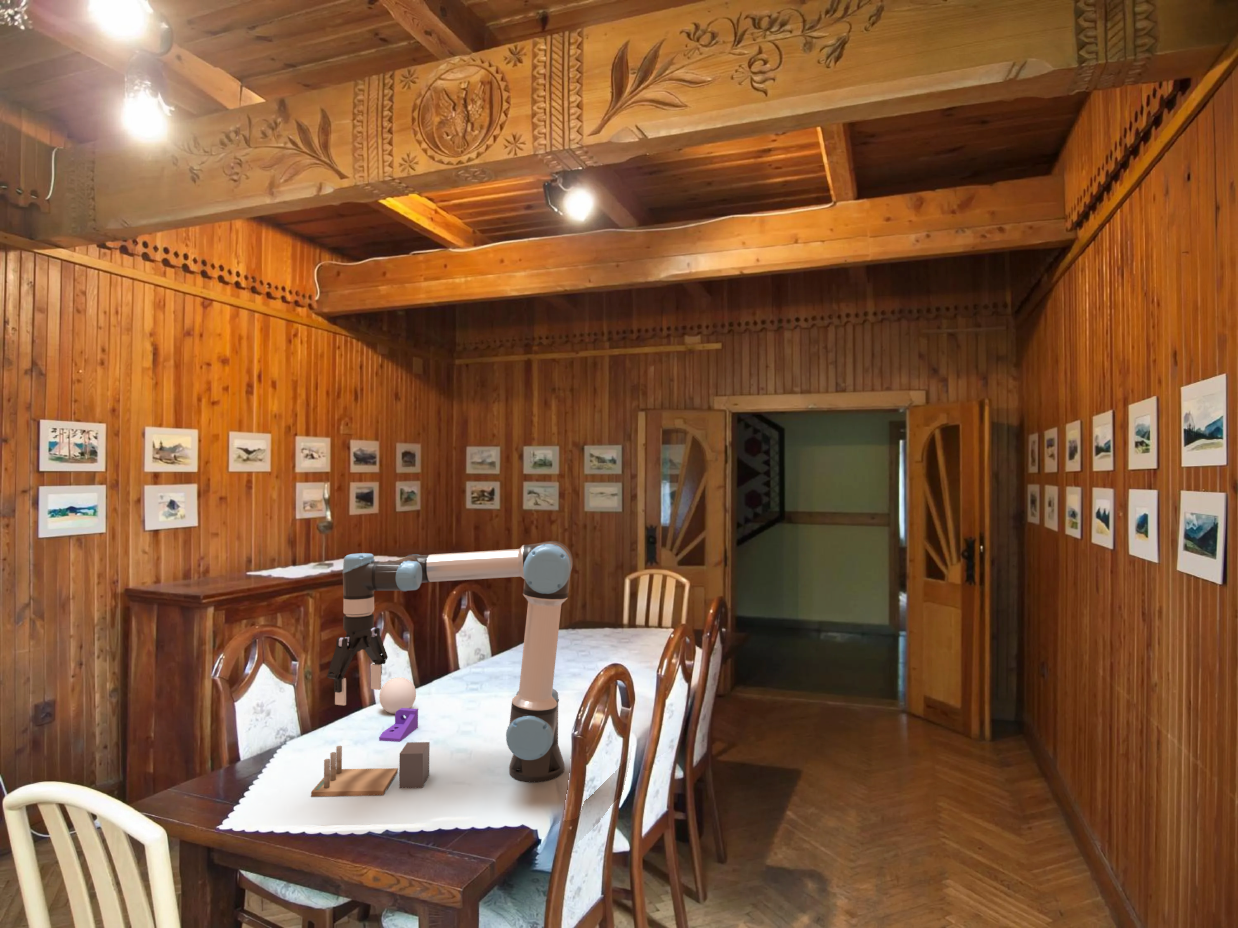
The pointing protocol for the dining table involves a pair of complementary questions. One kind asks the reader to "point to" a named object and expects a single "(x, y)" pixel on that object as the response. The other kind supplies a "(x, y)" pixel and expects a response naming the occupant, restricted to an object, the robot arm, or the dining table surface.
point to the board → (352, 779)
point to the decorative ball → (397, 695)
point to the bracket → (401, 725)
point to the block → (414, 765)
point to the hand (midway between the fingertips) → (358, 696)
